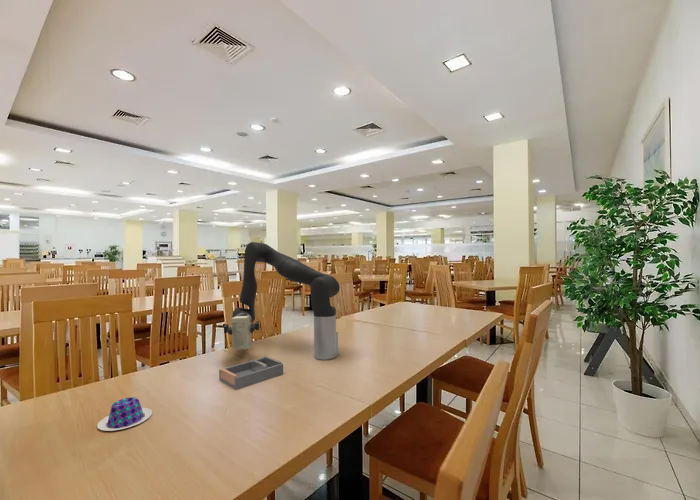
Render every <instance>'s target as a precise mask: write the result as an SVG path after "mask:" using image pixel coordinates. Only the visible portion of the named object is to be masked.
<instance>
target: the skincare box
mask: <svg viewBox="0 0 700 500" xmlns="http://www.w3.org/2000/svg"><path fill="white" fill-rule="evenodd" d="M230 326H231V327H232V335H231V340H232V341H231V342H232V350H248V349H249V348H251V347H252V345H253V342H252V333H251V323H250V316H235V317H233V318H230Z"/></svg>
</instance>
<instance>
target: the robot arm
mask: <svg viewBox="0 0 700 500" xmlns="http://www.w3.org/2000/svg"><path fill="white" fill-rule="evenodd" d="M243 259H244V260H243V261H244V262H243V281H242V286H241V291H240V297H239V302H240V303H241V304H243V305H245V306H246V307H248V308H245V307H244V308H243V307H236V308H235V309H234V310H233V311H232V315H231V316H232V318H233V317H235V316H250V323H251V334H252V333H254V332H255V330H256V331H259V330H260V321H259V320H256V309H255V308H256V307H255V303H256V297H257V292H258V282H257V278H256V274H255V273H256V272H255V267H256V263H265V264H267V265H270V266H272V267H274V269H275V270H276V272H277V273H278V274H279V275H280V276H282V277H283V278H285V279H287V280H289V281H291V282H295V283H299V284H303V285H308V286H310V302H311V309H312V312H313V346H314V347H313V349H314V353H313V356H314V358H315V359H317V360H322V361H323V360H325V361H326V360H327V361H328V360H332V359H334V358H336V357H337V356H339V332H338V331H337V310H336V307H334V306H332V305H331V300H330V298H333V297H335V296H337V294H339V293H340V288H341V287H340V284H339V281H338V279H336V277H334V276H332V275H329V274H326V273H324V272H321V271H318V270H316V269H314V268H312V267H310V266H309V265H307V264H305V263H303V262H300V260H298V259H295V258H293V257H291V256H288V255H286V254H284V253H281V252H279V251H277V250H276V249H274V248H273V247H271V246H270V245H269V244H267V243H264V242H255V241H251V242H249V243H247V244H246V247H245V250H244V257H243ZM223 334H228V335H229V336H232V327H231V325H229V324H227V323H225V324H224V326H223Z"/></svg>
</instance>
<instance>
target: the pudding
mask: <svg viewBox="0 0 700 500" xmlns="http://www.w3.org/2000/svg"><path fill="white" fill-rule="evenodd" d="M143 413H145V417H144V414H143ZM152 414H153V411H152V410H151V409H150V408H147V407H142V405H141V402H140V400H139V399H138V398H137V397H135V396H134V397H124V398H120V399H118V400H117V401H115V402H113V403H112V405H111V407H110V412H109V415H107V416H105V417H104V418H102V419H101V420H99V421H98V423H97V426H96V427H97V429H98V430H101V431H108V432H109V431H110V432H113V431H119V430H124V429H128V428H131V427H133V426H137V425H139V424H142V423H144V422H145V421H146V420H148V419H149V418H150V417H151V416H152ZM138 421H139V422H138Z"/></svg>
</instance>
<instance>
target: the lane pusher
mask: <svg viewBox="0 0 700 500" xmlns="http://www.w3.org/2000/svg"><path fill="white" fill-rule="evenodd" d="M249 361H250V367H251V369H252V370H254V371H258V370H262V369H265V368H267V364H264V363H262V362H259V361H257V360H256V359H255V358H252V359H250V360H249Z"/></svg>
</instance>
